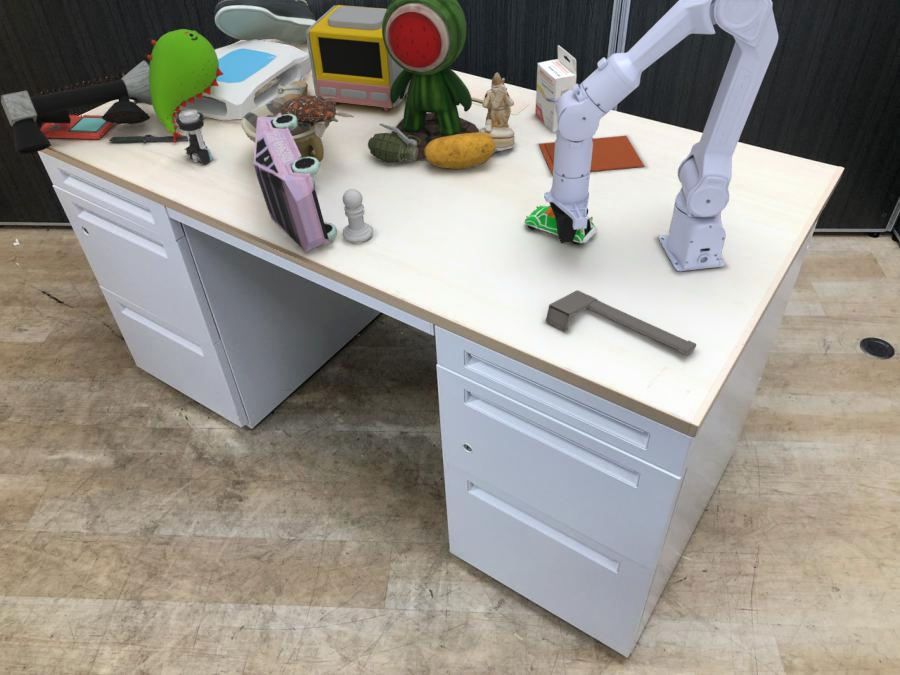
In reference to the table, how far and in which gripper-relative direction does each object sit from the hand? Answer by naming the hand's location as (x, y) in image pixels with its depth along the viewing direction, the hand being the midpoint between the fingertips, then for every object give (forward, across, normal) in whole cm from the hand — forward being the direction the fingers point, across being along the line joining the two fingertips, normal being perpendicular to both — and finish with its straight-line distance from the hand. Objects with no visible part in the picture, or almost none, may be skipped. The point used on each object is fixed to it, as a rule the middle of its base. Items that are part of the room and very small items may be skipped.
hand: (565, 240), depth 128 cm
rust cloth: (+2, -29, +12) cm, 32 cm away
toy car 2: (+2, -5, 0) cm, 5 cm away
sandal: (+2, -63, -48) cm, 79 cm away
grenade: (-2, -37, -31) cm, 48 cm away
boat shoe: (-6, -89, -51) cm, 103 cm away
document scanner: (+2, -72, -58) cm, 93 cm away
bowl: (+2, -38, -46) cm, 60 cm away
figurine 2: (+2, -36, -5) cm, 36 cm away
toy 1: (-9, -58, -75) cm, 96 cm away
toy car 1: (-6, -18, -40) cm, 44 cm away
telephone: (-3, -65, -77) cm, 101 cm away
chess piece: (+2, -10, -34) cm, 36 cm away
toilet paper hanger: (+2, +23, +2) cm, 23 cm away
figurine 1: (+2, -42, -18) cm, 46 cm away
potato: (+2, -30, -13) cm, 33 cm away
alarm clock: (+2, -64, -30) cm, 70 cm away
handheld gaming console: (+1, -63, -101) cm, 119 cm away
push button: (+2, -42, -65) cm, 78 cm away
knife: (+1, -50, -76) cm, 91 cm away
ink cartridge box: (+2, -44, +8) cm, 45 cm away
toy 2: (-5, -34, -35) cm, 49 cm away
